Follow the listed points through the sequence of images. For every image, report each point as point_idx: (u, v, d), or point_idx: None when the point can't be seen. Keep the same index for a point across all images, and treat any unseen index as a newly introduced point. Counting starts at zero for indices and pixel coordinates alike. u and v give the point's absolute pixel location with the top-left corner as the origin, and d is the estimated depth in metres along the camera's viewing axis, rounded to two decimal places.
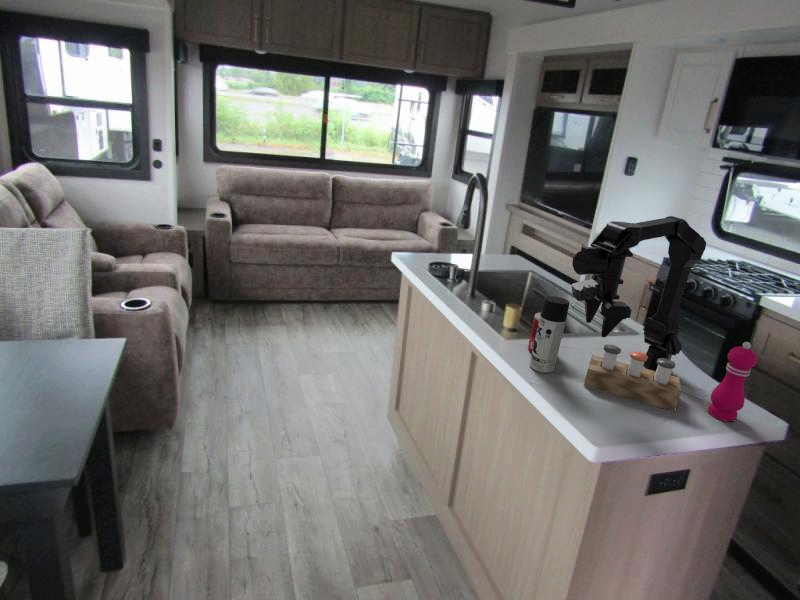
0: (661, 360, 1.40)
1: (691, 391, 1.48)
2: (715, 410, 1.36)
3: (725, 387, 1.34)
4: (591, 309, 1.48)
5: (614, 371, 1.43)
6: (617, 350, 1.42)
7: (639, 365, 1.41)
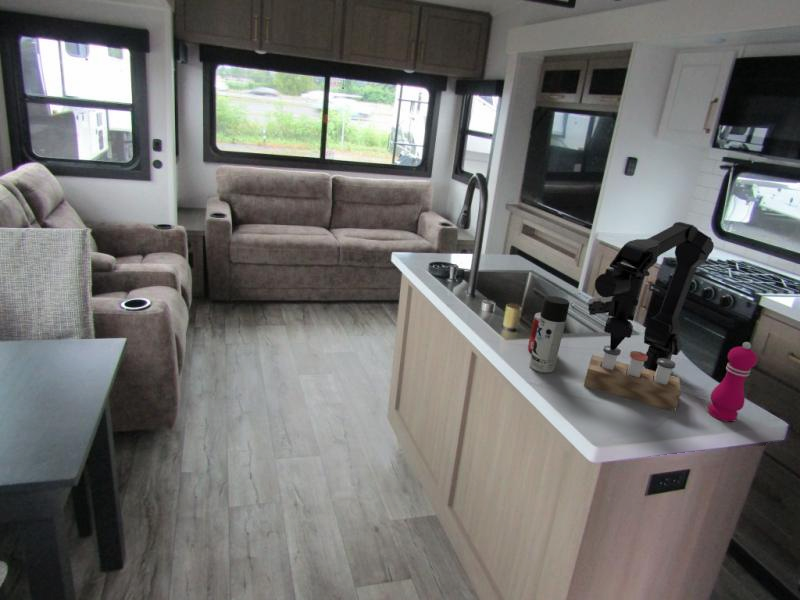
0: (661, 360, 1.40)
1: (691, 391, 1.48)
2: (714, 410, 1.36)
3: (725, 387, 1.34)
4: None
5: (614, 371, 1.43)
6: (617, 351, 1.43)
7: (639, 365, 1.41)
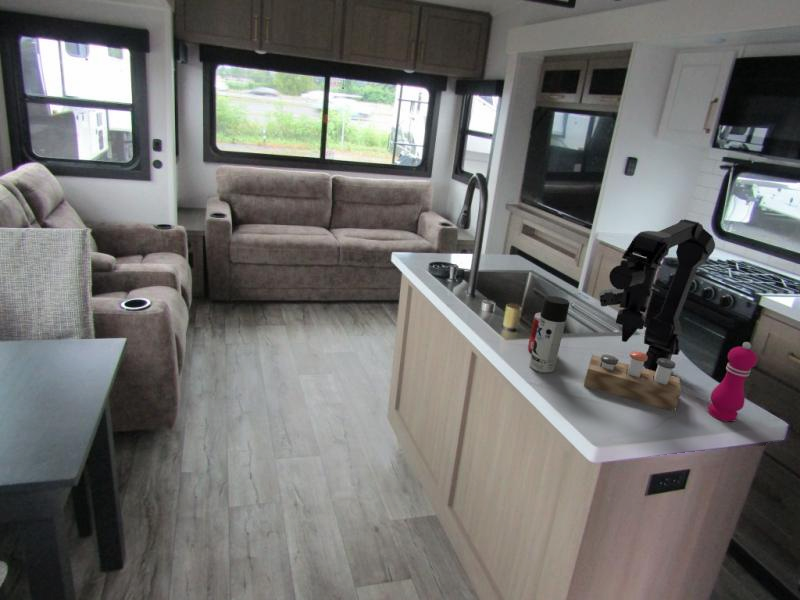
0: (661, 360, 1.40)
1: (691, 391, 1.48)
2: (715, 410, 1.36)
3: (725, 387, 1.34)
4: None
5: (614, 371, 1.43)
6: (614, 361, 1.43)
7: (639, 365, 1.41)
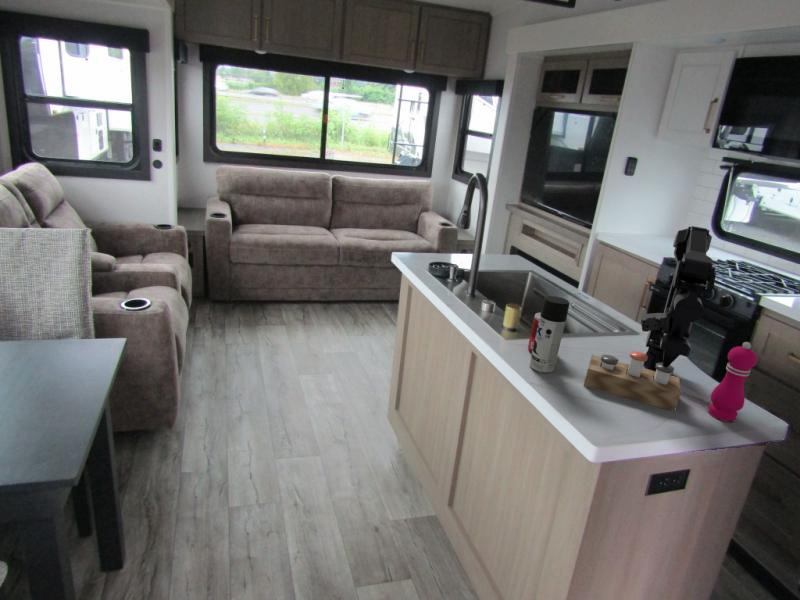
0: (660, 365, 1.40)
1: (691, 391, 1.48)
2: (715, 410, 1.36)
3: (725, 387, 1.34)
4: None
5: (614, 371, 1.43)
6: (614, 361, 1.43)
7: (639, 365, 1.41)
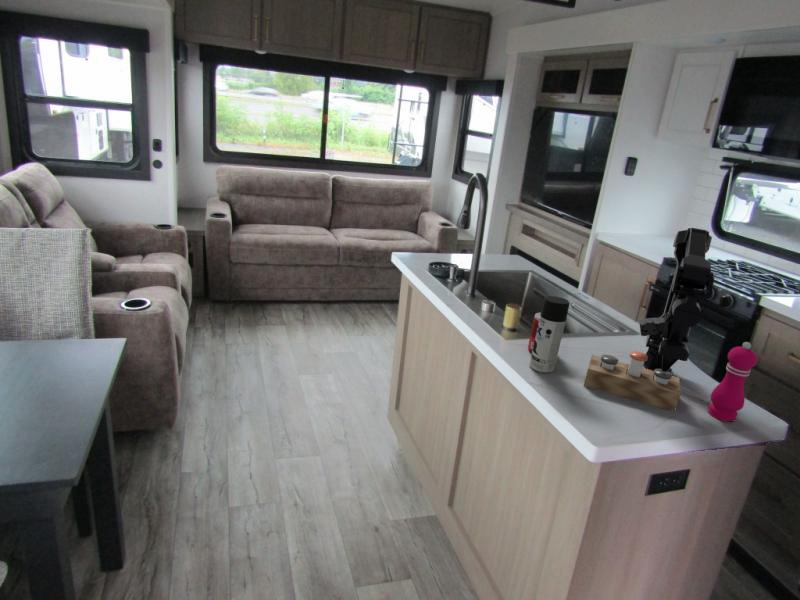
0: (658, 371, 1.41)
1: (690, 391, 1.48)
2: (715, 410, 1.36)
3: (725, 387, 1.34)
4: None
5: (614, 371, 1.43)
6: (614, 361, 1.43)
7: (639, 365, 1.41)
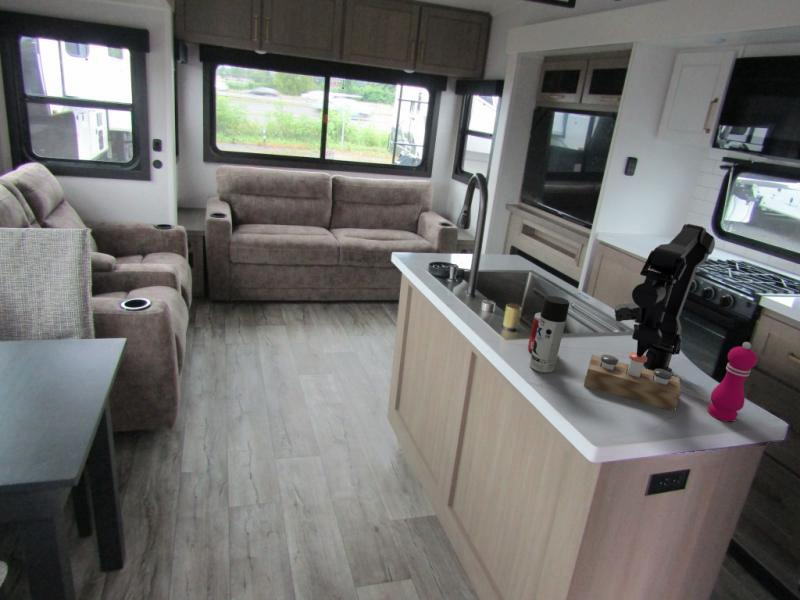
0: (658, 371, 1.41)
1: (690, 391, 1.48)
2: (715, 410, 1.36)
3: (725, 387, 1.34)
4: None
5: (614, 371, 1.43)
6: (614, 361, 1.43)
7: (638, 367, 1.41)
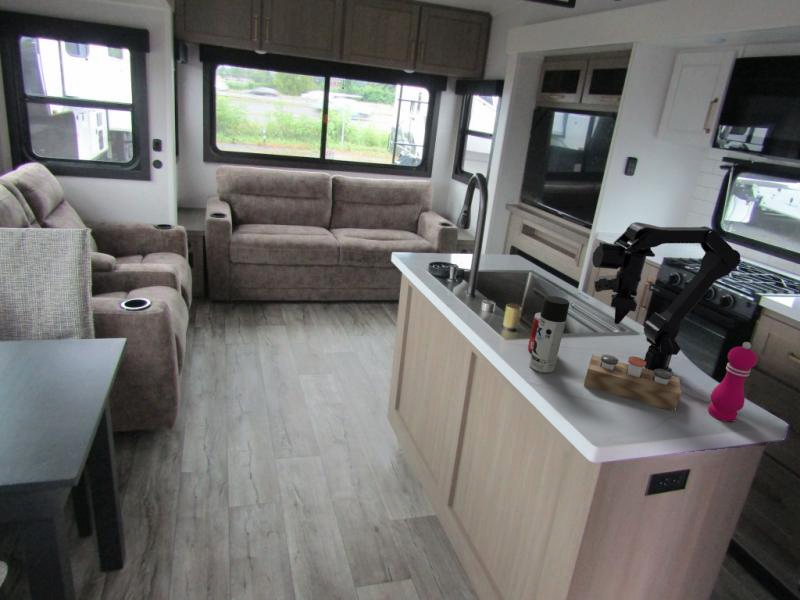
0: (658, 371, 1.41)
1: (690, 391, 1.48)
2: (715, 410, 1.36)
3: (725, 387, 1.34)
4: None
5: (614, 371, 1.43)
6: (614, 361, 1.43)
7: (637, 371, 1.41)
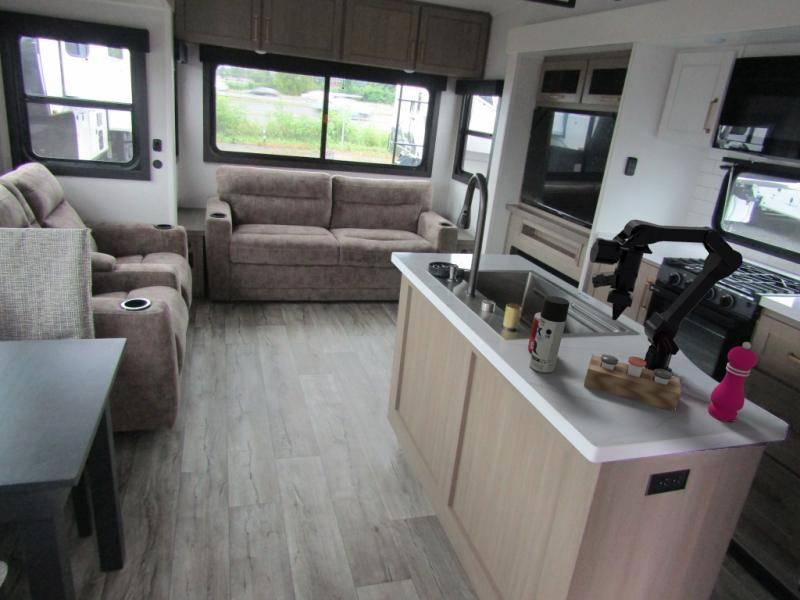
0: (658, 371, 1.41)
1: (690, 391, 1.48)
2: (714, 410, 1.36)
3: (725, 387, 1.34)
4: None
5: (614, 371, 1.43)
6: (614, 361, 1.43)
7: (637, 371, 1.41)
